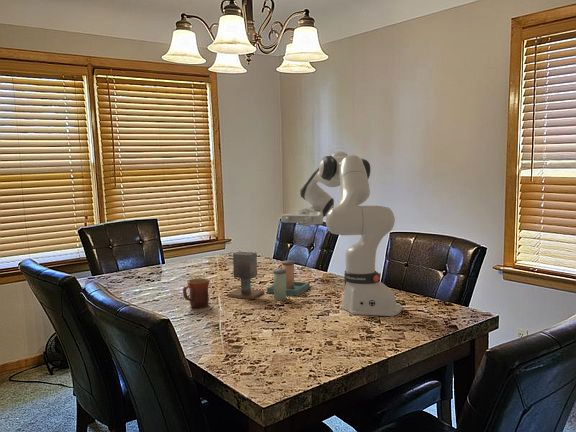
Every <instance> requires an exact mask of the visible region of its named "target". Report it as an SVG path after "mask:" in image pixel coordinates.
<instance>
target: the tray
mask: <svg viewBox="0 0 576 432" xmlns="http://www.w3.org/2000/svg"><path fill="white" fill-rule="evenodd" d="M309 288H310V282H307V281H306V282H304V281H296V280H294V289H293V290H292V289H286V296H292V295H296V296H295V297H298V296H299V295H301V294H302V293H304V292H305V291H307V290H308V289H309ZM306 289H307V290H306ZM303 291H304V292H303ZM301 292H302V293H301ZM266 293H267V294H272V293H274V283H273V284H271V285H270V286H267V288H266ZM300 293H301V294H300ZM297 295H298V296H297Z"/></svg>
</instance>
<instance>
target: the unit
mask: <svg viewBox="0 0 576 432" xmlns="http://www.w3.org/2000/svg"><path fill="white" fill-rule="evenodd" d="M257 257H258V256H257V252H251V251H238V252H235V253H233V254H232V260H233V261H232V263H233V266H232V267H233V278H235V279H240V287H239V288H237V289H235V290H233V291H231V292H228V294H227V297H228V298H235V299H244V300H245V299H246V300H253V301H254V300H255V299H257V298H258V297H260V296H262V295H263V294H265V290H262V289H261V290H260V289H252V285H251V282H252V281H251V279H253V278H255V277H257V276H258V258H257Z"/></svg>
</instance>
